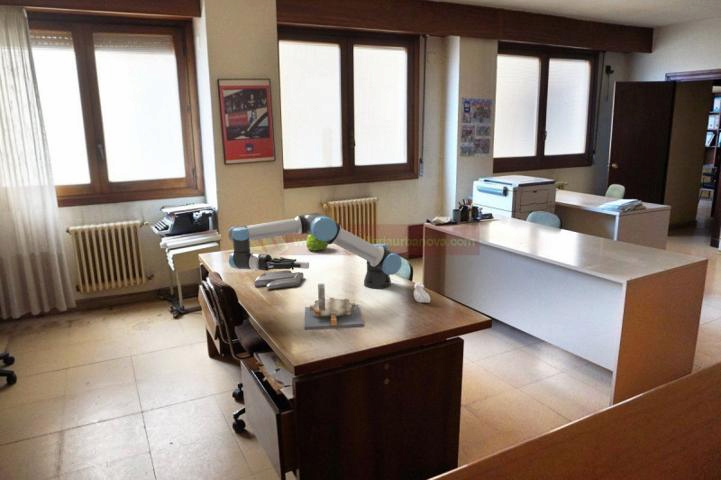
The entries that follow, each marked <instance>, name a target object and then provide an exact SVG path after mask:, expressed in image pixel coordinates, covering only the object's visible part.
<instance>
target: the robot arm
mask: <svg viewBox="0 0 721 480" xmlns="http://www.w3.org/2000/svg"><path fill="white" fill-rule="evenodd" d="M227 233H228V234H227V237H228V239H229V240H230V242H231V243H232V246H233V252H232V253H230V254H229V257H228V258H229V259H228V264H229V267H231V268H232V269H237V270H238V269H239V270H251V271H252V270H253V271H255V272H257V271H264V272H265V271H266V272H268V271H269V270H291V271H293V270H295V269H303V270H305V269H306V270H307V269H309V268H310V262H309V261H299V260H298V259H293V258H285V257H282V256H281V257H279V258H278V257H273V258H272V256H271V255H270V254H264V253H263V254H262V253H251V245H250V241H256V240H262V239H269V238H275V237H282V236H287V235H292V234H293V235H295V234H298V235H305V234H306V235H309V234H311V235H312V236H314V237H315V238H316V239H318V240H320V241H323V242H325V243H327V244H328V245H333V244H334V245H336V246H338V247H340V248H342V249H344V250H346V251H348V252H350V253H351V254H353V255H356V256H358V257H360V258H361V259H364V260H365V261H366V273H365V276H364V279H363V285H364V286H365V287H366V288H370V289H385V288H389V287H390V286H391V285H392V279H391V277H390V275H395V274H397V273H399V271H400V270H401V267H402V264H403V263H402V258H401V256H400V255H399V254H397V253H396V252H393V251H391V250H390V249H389V246H388V244H386V243H374V244H372V243H370V242H368V241H367V240H365V239H363V238H361V237H359V236H357V235H356V234H353V233H351V232H349V231H347V230H345V228H342V226H341V224H340V223H339V222H337V221H335V220H334V219H332V218H331V217H329V216H326V215H323V214H322V213H318V212H312V213H307V214H300V215H296V217H295V218H289V219H284V220H283V219H282V220H275V221H270V222H263V223H257V224H250V225H246V226H239V225H238V226H232V227H230V229H228V232H227ZM297 260H298V261H297Z"/></svg>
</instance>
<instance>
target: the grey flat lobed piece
mask: <svg viewBox="0 0 721 480" xmlns="http://www.w3.org/2000/svg"><path fill="white" fill-rule="evenodd" d="M304 279H305V278H304V273H303V272H292V270H291V269H284V270H279V271H270V272H268V271H267V272H263V273H262V274H260V275H259V276H258V277H257V278H256V279H255V280H254V288H259V287H258V286H261V287H266V289H267V290H272V289H273V290H274V289H285V288H294V287H298V286H299V285H300V284H301V283H302V281H303V280H304Z"/></svg>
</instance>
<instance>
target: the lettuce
mask: <svg viewBox="0 0 721 480" xmlns="http://www.w3.org/2000/svg"><path fill="white" fill-rule="evenodd" d="M305 241H306V242H305V246H306V248H307V249H308V250H309V249H310V251H311V250H313V251H312V252H315V251H323V250H325V249H327V247H328V246H329V244H327V243H325V242H323V241H320V240H318V239H316V238H315V237H314V236H312V235H311V234H307V237H306V240H305Z"/></svg>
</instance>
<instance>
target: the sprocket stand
mask: <svg viewBox="0 0 721 480" xmlns="http://www.w3.org/2000/svg"><path fill="white" fill-rule="evenodd" d="M303 326H304V330H321V329H337V328H338V329H339V328H356V327H359V328H360V327H364V321H363V317H362V313H361V310H360V305H359V304H355V309H352V310H351V314H349V315H347V314H344V315H340V316H336V318H331V316H322V315H320V316H315V313H314V311H310V306H305V307H304V325H303Z"/></svg>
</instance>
